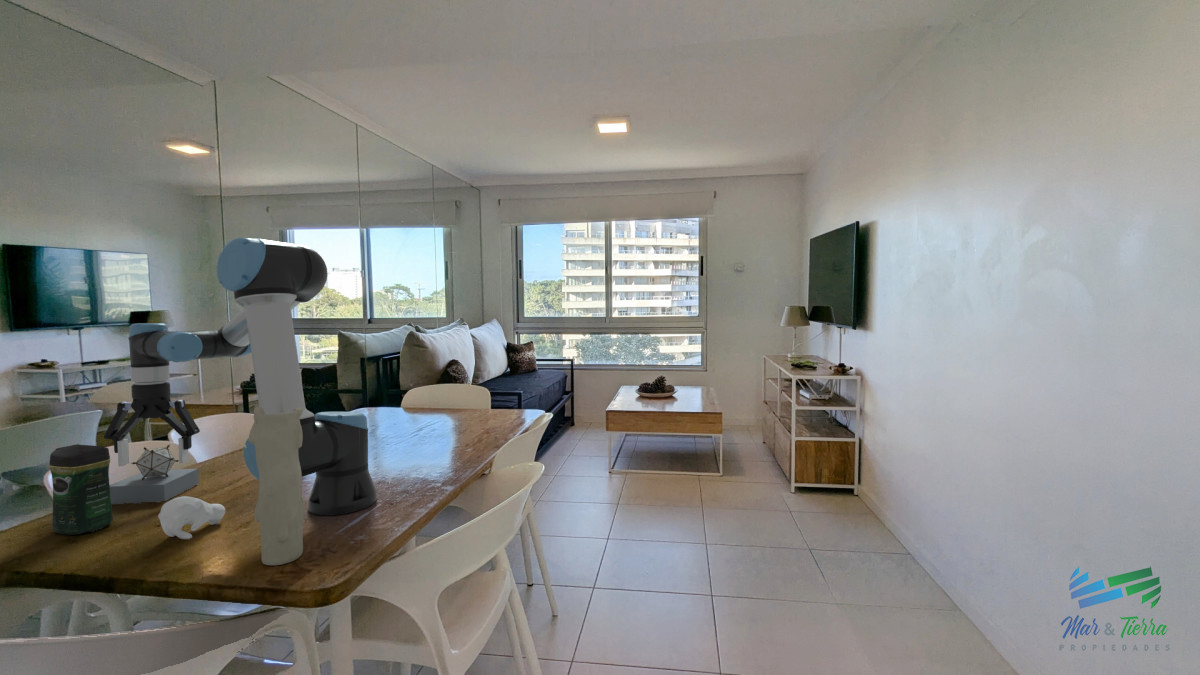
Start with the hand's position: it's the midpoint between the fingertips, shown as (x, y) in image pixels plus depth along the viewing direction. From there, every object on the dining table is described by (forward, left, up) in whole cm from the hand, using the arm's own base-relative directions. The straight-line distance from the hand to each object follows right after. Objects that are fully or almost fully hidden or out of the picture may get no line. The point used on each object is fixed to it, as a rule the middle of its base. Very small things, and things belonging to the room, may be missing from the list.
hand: (154, 463), depth 131 cm
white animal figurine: (-28, -23, -8) cm, 37 cm away
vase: (-45, -46, -8) cm, 65 cm away
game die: (0, 0, -4) cm, 4 cm away
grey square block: (0, 0, -9) cm, 9 cm away
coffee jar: (-21, +2, -8) cm, 23 cm away
